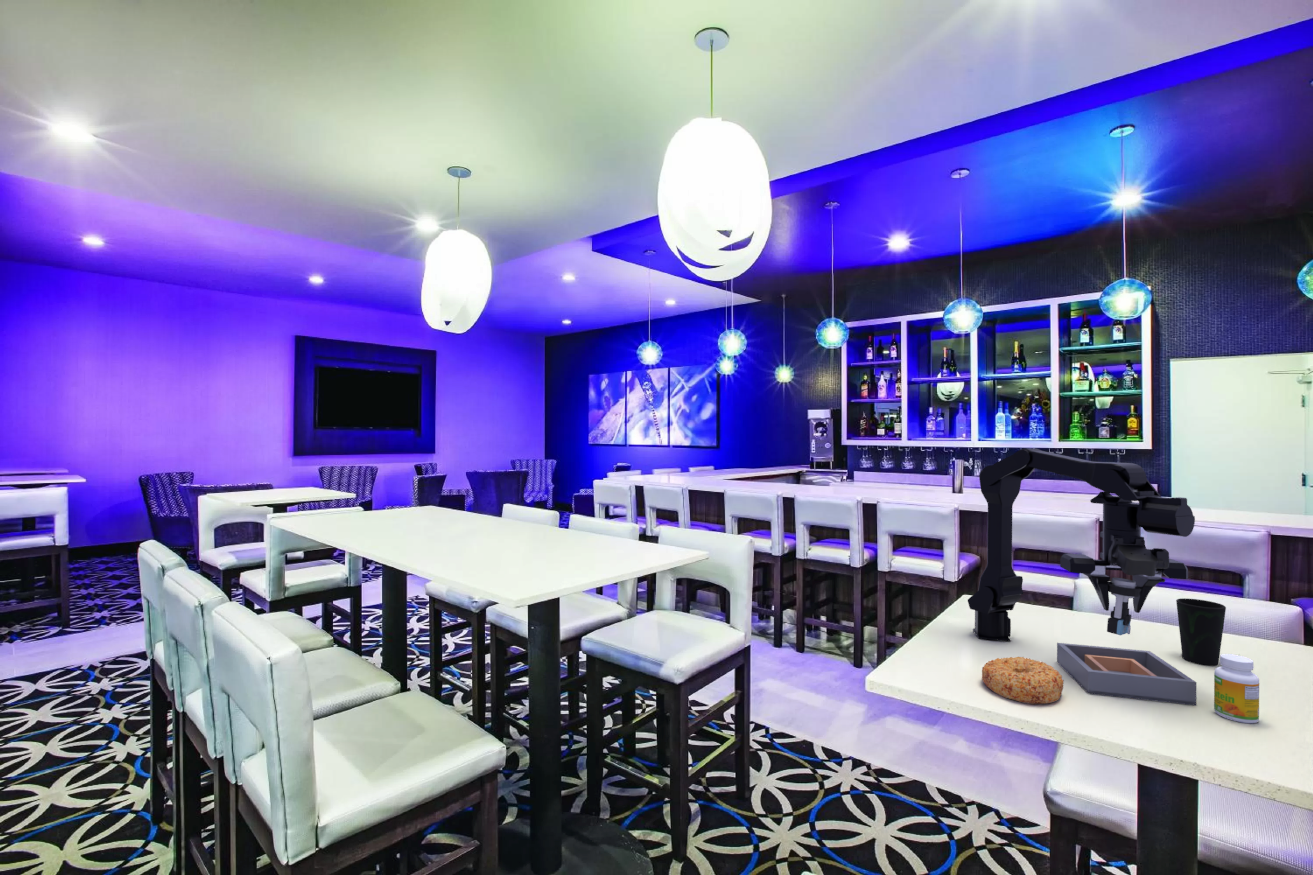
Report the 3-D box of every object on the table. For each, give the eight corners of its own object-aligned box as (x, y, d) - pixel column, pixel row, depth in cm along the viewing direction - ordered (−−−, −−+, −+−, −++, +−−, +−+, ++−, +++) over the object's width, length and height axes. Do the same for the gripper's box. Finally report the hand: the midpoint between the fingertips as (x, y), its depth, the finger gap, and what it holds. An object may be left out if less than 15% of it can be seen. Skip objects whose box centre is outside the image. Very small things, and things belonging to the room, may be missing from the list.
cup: (1213, 656, 127) (1213, 600, 127) (1234, 669, 120) (1234, 609, 120) (1168, 652, 130) (1169, 596, 130) (1186, 664, 123) (1186, 606, 123)
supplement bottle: (1204, 709, 102) (1205, 652, 102) (1233, 708, 103) (1234, 651, 103) (1238, 724, 97) (1238, 664, 97) (1268, 723, 97) (1269, 663, 97)
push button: (1111, 625, 119) (1115, 574, 118) (1144, 634, 114) (1149, 581, 114) (1097, 629, 115) (1101, 577, 115) (1130, 639, 110) (1135, 584, 110)
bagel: (1056, 683, 113) (1056, 657, 113) (1072, 713, 101) (1072, 683, 101) (978, 672, 118) (979, 647, 118) (984, 699, 106) (985, 670, 106)
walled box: (1088, 693, 108) (1088, 671, 108) (1056, 662, 124) (1057, 642, 124) (1196, 705, 104) (1196, 682, 104) (1149, 671, 119) (1149, 650, 119)
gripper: (1082, 532, 109) (1082, 618, 109) (1206, 537, 104) (1206, 628, 104) (1059, 524, 120) (1059, 603, 120) (1171, 529, 115) (1171, 610, 115)
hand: (1121, 611), depth 115 cm, fingers closed on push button, 5 cm apart
